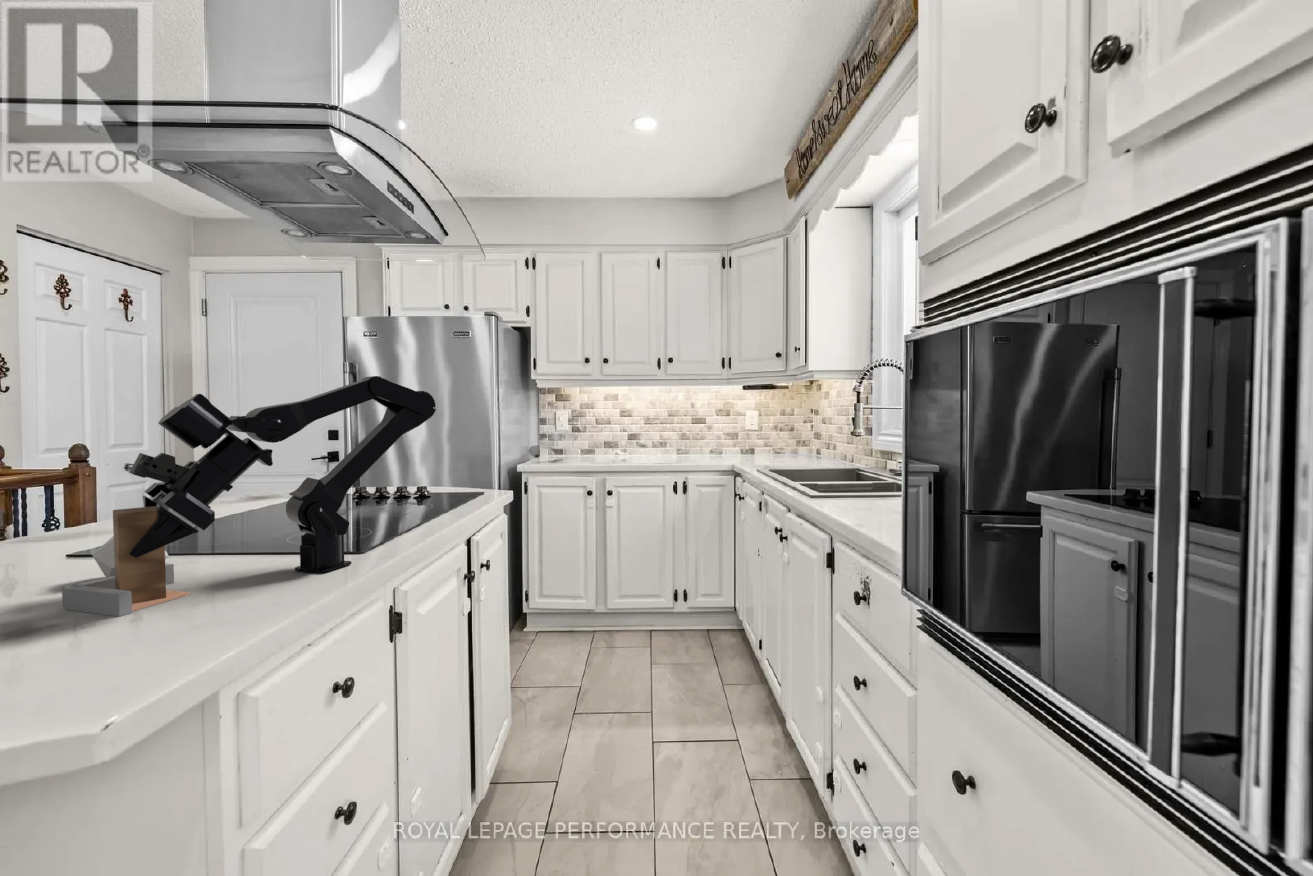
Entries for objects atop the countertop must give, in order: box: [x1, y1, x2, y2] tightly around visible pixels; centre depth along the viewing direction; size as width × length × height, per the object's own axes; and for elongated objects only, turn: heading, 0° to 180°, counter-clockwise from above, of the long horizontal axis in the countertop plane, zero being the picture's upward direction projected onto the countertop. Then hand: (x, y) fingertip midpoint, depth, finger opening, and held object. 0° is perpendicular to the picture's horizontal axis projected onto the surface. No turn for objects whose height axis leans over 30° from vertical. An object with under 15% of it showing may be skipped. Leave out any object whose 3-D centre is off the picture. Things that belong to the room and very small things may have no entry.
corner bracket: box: [61, 563, 175, 617], centre depth 88 cm, size 14×11×3 cm
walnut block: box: [112, 506, 167, 604], centre depth 86 cm, size 5×5×13 cm
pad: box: [132, 589, 190, 612], centre depth 87 cm, size 8×8×1 cm
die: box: [91, 535, 169, 578], centre depth 98 cm, size 8×9×10 cm
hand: (127, 550), depth 85 cm, fingers open, 9 cm apart
